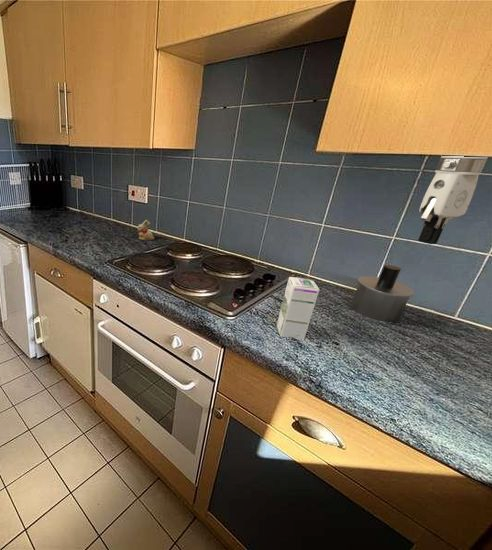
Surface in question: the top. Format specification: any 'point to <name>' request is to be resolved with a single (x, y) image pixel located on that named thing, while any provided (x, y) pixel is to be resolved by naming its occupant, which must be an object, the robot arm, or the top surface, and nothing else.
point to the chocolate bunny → (145, 231)
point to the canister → (378, 305)
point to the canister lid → (386, 283)
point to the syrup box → (297, 307)
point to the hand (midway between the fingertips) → (426, 242)
